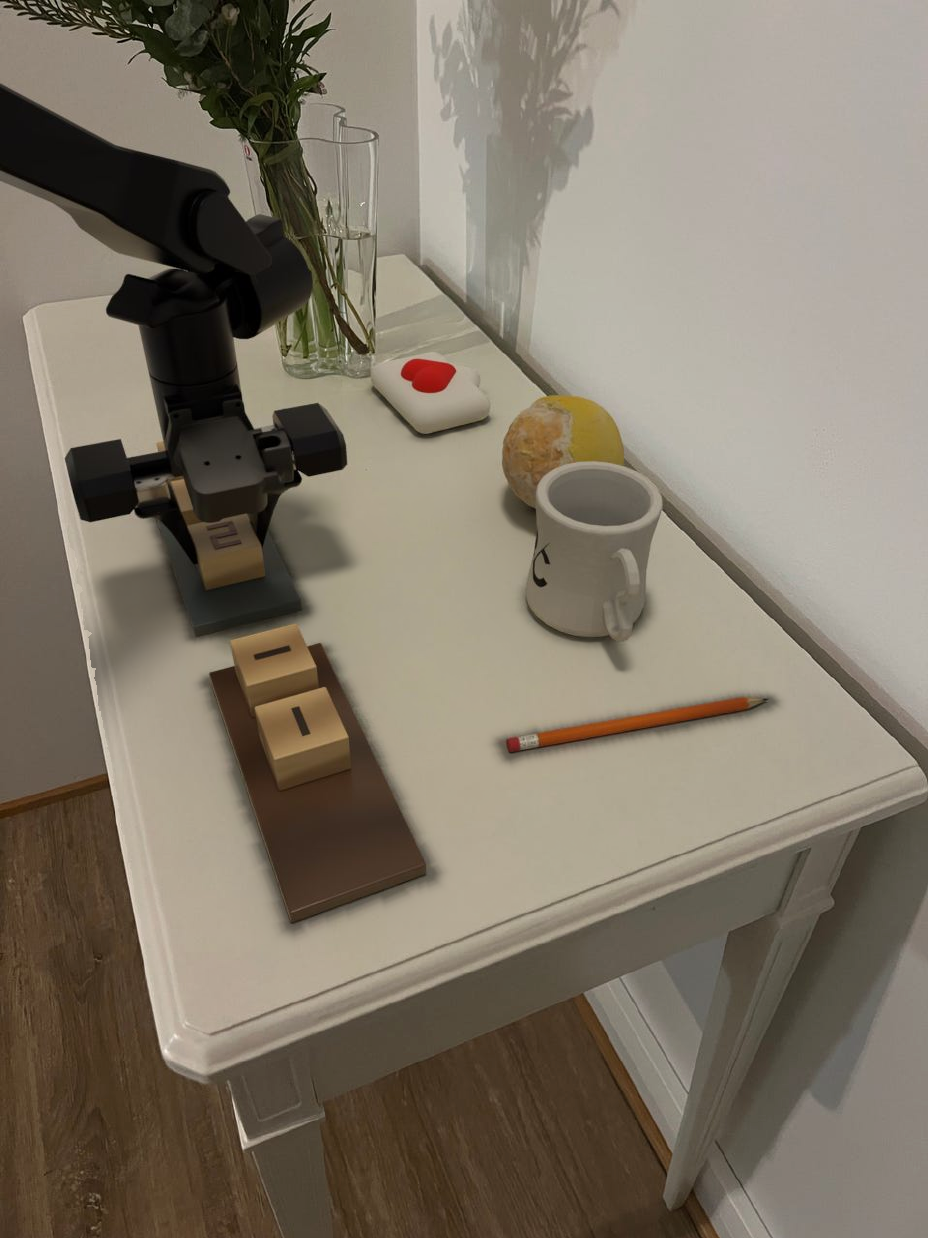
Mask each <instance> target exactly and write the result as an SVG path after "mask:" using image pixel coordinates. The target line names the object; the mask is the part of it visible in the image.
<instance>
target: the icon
mask: <svg viewBox="0 0 928 1238" xmlns="http://www.w3.org/2000/svg"><path fill="white" fill-rule="evenodd" d="M370 381H371V384H372V386H373V387H374V388H375V390H377V391H378V392H379V393H380V394H381V395H382V396H383V398H385V400H386V401H387V402H388V403H389V404H390V405H391V406H392V407H393V408H394V409H395V410H396V411H397V413H399V414H400V415H401V416H402V417H403V419H404V420H406V422H407V423H408V424H409V425H410V426H411V427H412V428H413V429H414V430H415V431H416V432H418V433H420V434H423V435H427V434H428V435H429V434H433V433H436V432H440V431H444V430H448V429H452V428H455V427H460V426H465V425H468V424H471V423H477V422H480V421H484V419H485V418H487V416H489V414H490V412H491V401H490V398H489V396H488V395H487V394H486V393H485V392H483V391H482V390H481V389H480V386H481V385H480V384H481V374H480V373H479V371H478V370H476V369H474V368H471V367H468V366H463V365H459V364H455V363H451V362H450V361H449V360H448V359H446V358H445V357H444V356H443V355H442V354H441V353H439V352H437V351H429V352H425V353H424V352H423V353H420V354H415V355H410V356H406V357H401V358H397V359H392V360H387V361H381V362H378V363H377V364H375V365H374V366H373V368H372V369H371V372H370Z"/></svg>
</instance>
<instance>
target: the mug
mask: <svg viewBox="0 0 928 1238" xmlns="http://www.w3.org/2000/svg"><path fill="white" fill-rule="evenodd" d="M662 511H663V496H662V494H661V492H660V490H659V488H658V486H656V485H655V484H654V483H653V482H652V481H651V480H650V479H649V477H647V476H645V475H643V474H642V473H640V472H639V471H636V470H634V469H632V468H629V467H627V466H625V465H624V466H620V465H616V464H612V463H606V462H596V461H589V462H576V463H571V464H566V465H563V466H560V467H558V468H555V469H553V470H552V471H550V472H549V473H548V474H546V475H545V476H544V477H543V478H542V479H541V481H540V482H539V484H538V485H537V491H536V509H535V515H536V517H535V518H536V533H535V542H534V549H533V553H532V554H533V555H532V558H531V562H530V566H529V570H528V575H527V578H526V579H527V580H526V586H525V596H526V601H527V605H528V606H529V608H530V609H531V611H532V612H533V614H534V615H535V616H537V618H539V619H540V620H541V621H543V623H545V624H546V625H547V626H549V627H551V628H552V629H555V630H556V631H559V632H560V633H564V634H567V635H571V636H575V637H583V638H584V637H585V638H597V637H598V638H599V637H606V636H609V637H610V638H611V639H612V640H614V641H615V642H618V643H624V642H627V640H629V639H630V638H631V636H632V634H633V626H634V625H633V624H634V623H635V622H636V621H637V620H638V619H639V618H640V616H641V613H642V611H643V608H644V607H645V603H646V602H645V601H646V590H647V589H646V588H647V569H648V564H649V557H650V551H651V546H652V541H653V538H654V535H655V532H656V529H657V526H658V523H659V520H660V518H661V514H662Z"/></svg>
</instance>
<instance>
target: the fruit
mask: <svg viewBox="0 0 928 1238" xmlns="http://www.w3.org/2000/svg"><path fill="white" fill-rule="evenodd" d="M501 451H502V452H501V453H502V455H501V457H502V458H501V466H502V471H503V474H504V477H505V480H506V482H507V483H508V485H509V487H510V489H511V490H512V491H513V493H514V494H515V496H516V497H518V498H519V499H520V500H522V501H523V502H524V504H526V505H527V506H529V507H531V508H533V509H535V510H536V491H537V485H538V484H539V482H540V481H541V479H542V478H543V477H544V476H545V475H546V474H548V473H549V472H550V471H552V470H553V469H555V468H558V467H560V466H563V465H566V464H571V463H576V462H589V461H596V462H606V463H612V464H616V465H620V466H624V467H625V449H624V444H623V440H622V436H621V433H620V430H619V427H618V425H617V423H616V422H615V420H614V418H613V417H612V416H611V414H610V413H609V412H608V410H606V409H605V408H604V407H603V406H602V405H600V404H599V403H597V402H595V401H593V400H591V399H588V398H585V397H581V396H576V395H575V396H574V395H564V394H554V395H552V394H551V395H547V396H543V397H540V398H537V399H536V400H535V401H534V402H532V403H531V405H530V406H529V407H527V408H525V409H523V410H521V411H520V412H519V413H518V415H517V416H516V417H515V418H514V419H513V421H512V422H511V423H510V424H509V427H508V430H507V432H506V434H505V436H504V437H503V441H502V449H501Z"/></svg>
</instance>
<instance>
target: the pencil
mask: <svg viewBox="0 0 928 1238" xmlns="http://www.w3.org/2000/svg"><path fill="white" fill-rule="evenodd" d="M768 700H769V698H763V697H747V696H741V697H735V698H729V699H724V700H719V701H713V702H707V703H702V704H696V705H690V706H684V707H679V708H674V709H667V710H662V711H657V712H651V713H650V712H649V713H645V714H638V715H633V716H629V717H628V716H627V717H622V718H616V719H610V720H607V721H606V720H605V721H600V722H594V723H589V724H583V725H576V726H572V727H566V728H565V727H564V728H560V729H555V730H548V731H543V732H538V733H531V734H527V735H521V736H514V737H509V738H506V741H505V743H506V748H507V751H508V752H509V753H512V752H517V751H523V750H527V749H528V750H529V749H534V748H540V747H544V746H550V745H557V744H561V743H568V742H574V741H578V740H583V739H589V738H594V737H596V738H597V737H601V736H607V735H611V734H612V735H613V734H619V733H622V732H628V731H633V730H640V729H646V728H649V727H650V728H652V727H657V726H662V725H663V726H664V725H667V724H672V723H673V724H674V723H678V722H679V723H680V722H684V721H690V720H696V719H701V718H706V717H712V716H717V715H725V714H728V713H734V712H740V711H745V710H749V709H751V708H753V707H755V706H758V705H759V704H761V703H764V702H766V701H768Z"/></svg>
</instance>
